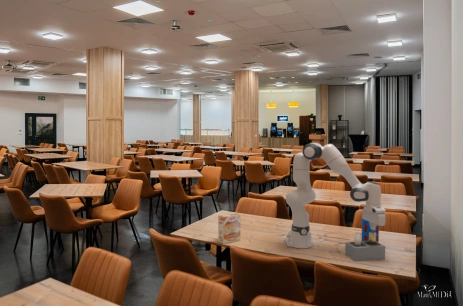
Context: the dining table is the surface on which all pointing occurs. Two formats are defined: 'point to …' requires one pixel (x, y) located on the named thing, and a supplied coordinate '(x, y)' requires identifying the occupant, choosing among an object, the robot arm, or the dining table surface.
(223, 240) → the coffeecake box
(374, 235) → the brass peg
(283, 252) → the dining table surface
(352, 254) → the socket block
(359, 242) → the nylon peg
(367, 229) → the thermos
